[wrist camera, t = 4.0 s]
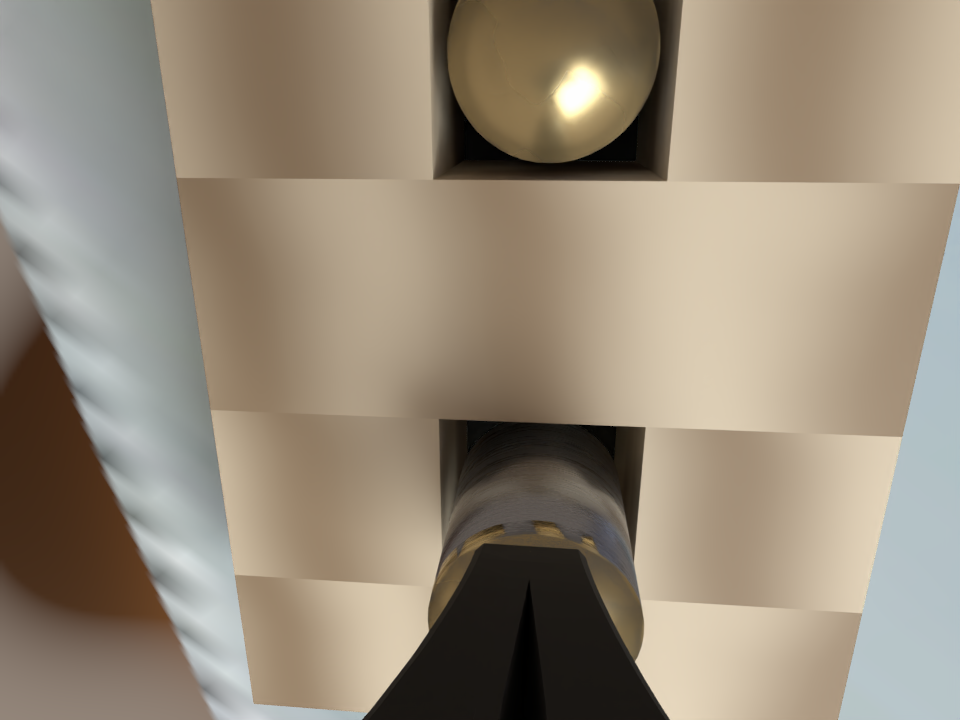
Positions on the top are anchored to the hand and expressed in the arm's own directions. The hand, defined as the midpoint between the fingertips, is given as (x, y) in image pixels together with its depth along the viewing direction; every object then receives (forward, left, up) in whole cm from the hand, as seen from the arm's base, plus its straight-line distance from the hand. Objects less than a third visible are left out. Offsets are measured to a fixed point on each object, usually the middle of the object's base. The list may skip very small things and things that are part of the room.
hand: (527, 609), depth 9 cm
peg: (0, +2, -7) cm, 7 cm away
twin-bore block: (0, -3, -10) cm, 11 cm away
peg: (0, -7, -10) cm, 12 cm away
